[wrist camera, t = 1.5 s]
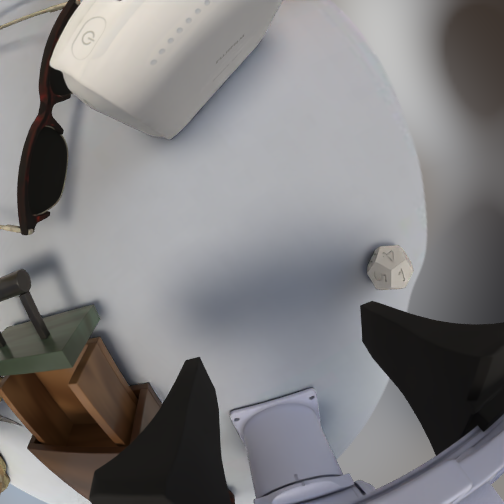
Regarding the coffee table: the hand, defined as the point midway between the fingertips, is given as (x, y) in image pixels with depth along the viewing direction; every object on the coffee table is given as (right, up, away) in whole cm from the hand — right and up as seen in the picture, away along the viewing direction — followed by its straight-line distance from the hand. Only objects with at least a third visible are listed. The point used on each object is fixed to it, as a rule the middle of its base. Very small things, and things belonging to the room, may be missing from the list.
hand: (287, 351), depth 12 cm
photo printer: (-5, +15, +4) cm, 17 cm away
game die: (+8, +3, +9) cm, 13 cm away
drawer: (-16, -4, +6) cm, 18 cm away
